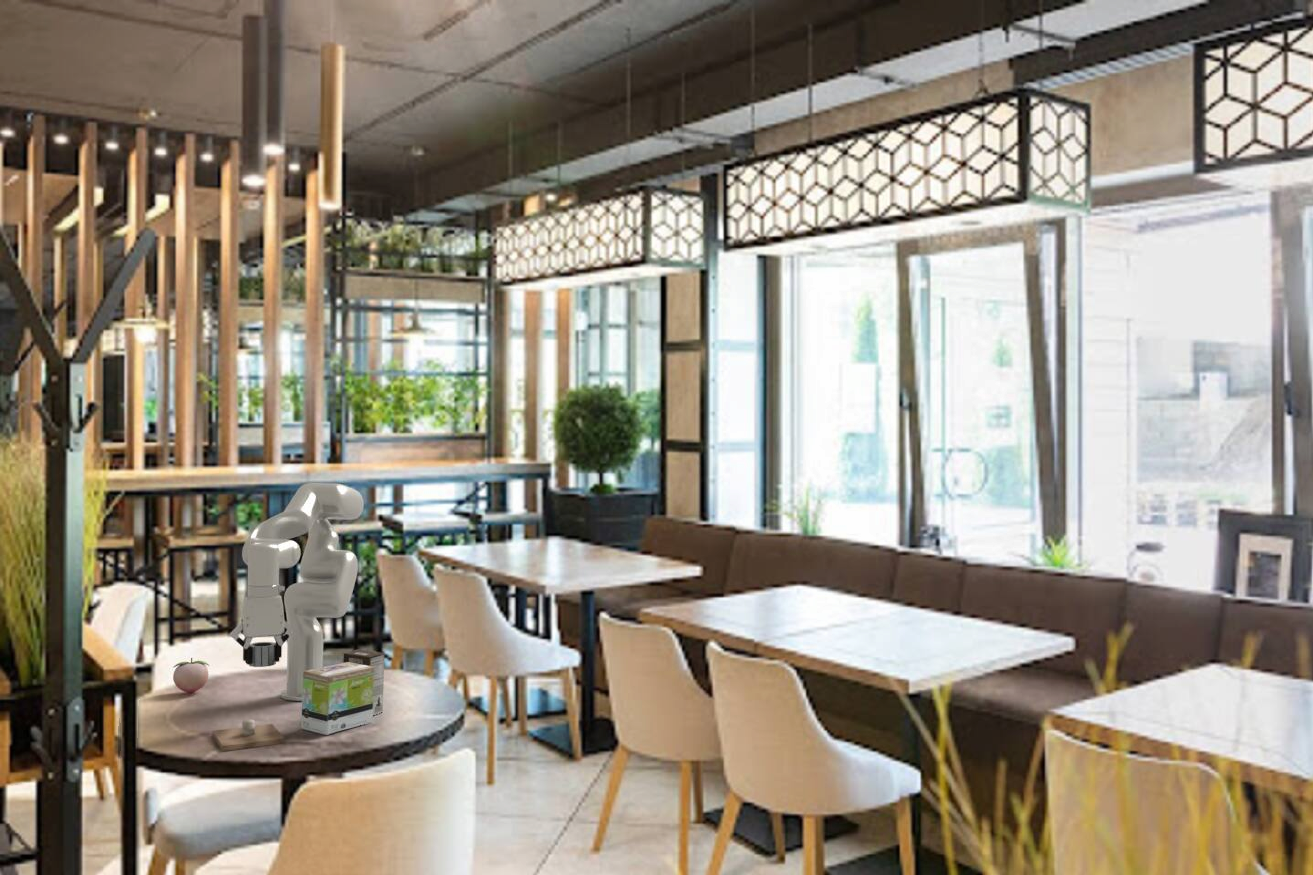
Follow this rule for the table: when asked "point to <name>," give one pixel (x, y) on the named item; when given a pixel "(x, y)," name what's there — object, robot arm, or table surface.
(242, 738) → the shaft base
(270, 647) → the grey hollow cylinder
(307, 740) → the table surface
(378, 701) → the coffee box
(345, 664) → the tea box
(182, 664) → the decorative fruit
